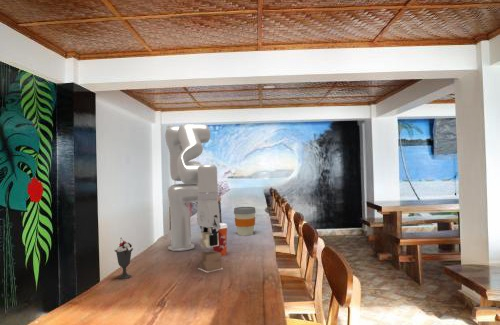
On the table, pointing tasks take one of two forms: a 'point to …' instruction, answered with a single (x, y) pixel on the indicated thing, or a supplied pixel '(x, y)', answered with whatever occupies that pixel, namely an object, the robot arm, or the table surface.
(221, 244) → the paper cup
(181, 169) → the robot arm
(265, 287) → the table surface
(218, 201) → the whiskey bottle
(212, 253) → the walnut block
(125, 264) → the sundae
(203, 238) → the birch block
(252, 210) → the reusable coffee cup
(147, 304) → the table surface
